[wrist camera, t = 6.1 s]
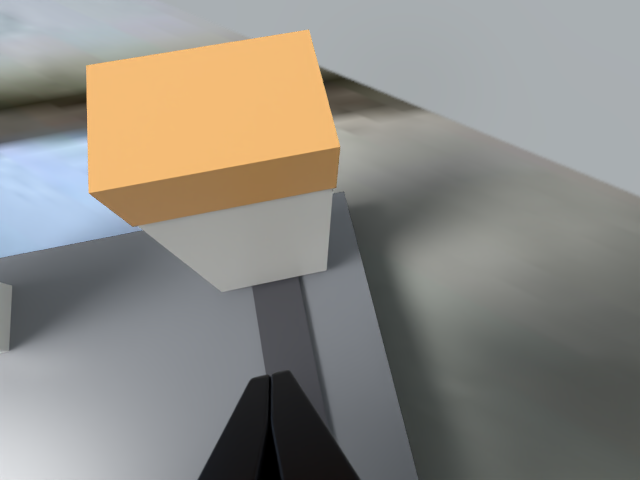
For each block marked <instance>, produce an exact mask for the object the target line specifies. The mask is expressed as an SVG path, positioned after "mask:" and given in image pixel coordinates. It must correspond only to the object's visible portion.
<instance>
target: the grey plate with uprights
mask: <svg viewBox="0 0 640 480" xmlns="http://www.w3.org/2000/svg"><path fill="white" fill-rule="evenodd" d="M284 370H290V371H291V372H292V374H293V375H294V377H295V378H296V380H297V381H298V383H299V385H300V386H301V388H302V389H303V391H304V392H305V394H306V395H307V397H308V398H309V400H310V402H311V403H312V405H313V406H314V408H315V409H316V411H317V412H318V414H319V415H320V417H321V419H322V420H323V422H324V423H325V425H326V426H327V428H328V429H329V431H330V433H331V434H332V436H333V437H334V439H335V440H336V442H337V443H338V445H339V446H340V448H341V450H342V451H343V453H344V454H345V456H346V457H347V459H348V460H349V462H350V463H351V465H352V467H353V468H354V470H355V471H356V473H357V474H358V476H359V477H360V479H361V480H419V479H418V475H417V472H416V468H415V464H414V460H413V456H412V452H411V448H410V445H409V441H408V437H407V433H406V429H405V425H404V421H403V418H402V414H401V410H400V406H399V402H398V398H397V394H396V391H395V387H394V383H393V379H392V375H391V371H390V367H389V364H388V360H387V356H386V352H385V348H384V344H383V340H382V337H381V333H380V329H379V325H378V321H377V317H376V313H375V310H374V306H373V302H372V298H371V294H370V290H369V286H368V283H367V279H366V275H365V271H364V267H363V263H362V259H361V256H360V252H359V248H358V244H357V240H356V236H355V232H354V229H353V225H352V221H351V217H350V213H349V209H348V205H347V202H346V198H345V194H344V192H339V193H334V194H333V196H332V208H331V220H330V233H329V245H328V257H327V270H326V271H321V272H316V273H311V274H306V275H302V276H297V277H292V278H287V279H282V280H278V281H273V282H268V283H263V284H258V285H254V286H249V287H244V288H239V289H234V290H229V291H225V292H221V291H220V290H218V289H217V288H216V287H215V286H213V285H212V284H211V283H209V282H208V281H207V280H206V279H204V278H203V277H202V276H201V275H199V274H198V273H197V272H196V271H194V270H193V269H192V268H190V267H189V266H188V265H187V264H185V263H184V262H183V261H182V260H180V259H179V258H178V257H176V256H175V255H174V254H173V253H171V252H170V251H169V250H168V249H166V248H165V247H164V246H163V245H161V244H160V243H159V242H157V241H156V240H155V239H154V238H152V237H151V236H150V235H149V234H147V233H146V232H145V231H137V232H132V233H127V234H122V235H117V236H111V237H106V238H101V239H96V240H91V241H86V242H80V243H75V244H70V245H65V246H60V247H55V248H49V249H44V250H39V251H34V252H29V253H23V254H18V255H13V256H8V257H3V258H0V480H198V478H199V476H200V474H201V472H202V470H203V468H204V466H205V464H206V462H207V460H208V459H209V457H210V455H211V453H212V451H213V449H214V447H215V445H216V443H217V441H218V439H219V438H220V436H221V434H222V432H223V430H224V428H225V426H226V424H227V422H228V420H229V418H230V417H231V415H232V413H233V411H234V409H235V407H236V405H237V403H238V401H239V399H240V398H241V396H242V394H243V392H244V390H245V388H246V386H247V384H248V382H249V381H250V379H251V378H253V377H258V376H262V375H267V374H268V375H270V376H271V375H272V374H273V373H275V372H280V371H284Z"/></svg>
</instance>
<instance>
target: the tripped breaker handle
mask: <svg viewBox="0 0 640 480" xmlns="http://www.w3.org/2000/svg"><path fill="white" fill-rule="evenodd" d="M86 75H87V129H88V184H89V194H90V195H92V196H93V197H94V198H96V199H97V200H98V201H100V202H101V203H102V204H104V205H105V206H106V207H107V208H109V209H110V210H111V211H113V212H114V213H115V214H117V215H118V216H119V217H121V218H122V219H123V220H125V221H126V222H127V223H128V224H130V225H131V226H132V227H134V226H138V227H140V228H141V229H142V230H143V231H145V232H146V233H147V234H149V235H150V236H151V237H152V238H154V239H155V240H156V241H157V242H159V243H160V244H161V245H163V246H164V247H165V248H166V249H168V250H169V251H170V252H171V253H173V254H174V255H175V256H176V257H178V258H179V259H180V260H182V261H183V262H184V263H185V264H187V265H188V266H189V267H190V268H192V269H193V270H194V271H196V272H197V273H198V274H199V275H201V276H202V277H203V278H204V279H206V280H207V281H208V282H209V283H211V284H212V285H213V286H215V287H216V288H217V289H218V290H220V291H221V292H225V291H229V290H234V289H239V288H244V287H249V286H254V285H258V284H263V283H268V282H273V281H278V280H282V279H287V278H292V277H297V276H302V275H306V274H311V273H316V272H321V271H326V270H327V257H328V245H329V233H330V220H331V208H332V196H333V188H336V185H337V174H338V164H339V154H340V144H339V140H338V137H337V133H336V129H335V125H334V122H333V118H332V114H331V110H330V107H329V103H328V99H327V95H326V92H325V88H324V84H323V80H322V77H321V73H320V69H319V65H318V62H317V58H316V54H315V51H314V47H313V43H312V39H311V36H310V32H309V30H304V31H298V32H291V33H285V34H279V35H273V36H266V37H260V38H254V39H248V40H242V41H235V42H229V43H223V44H217V45H210V46H204V47H198V48H192V49H186V50H179V51H173V52H167V53H161V54H154V55H148V56H142V57H136V58H130V59H123V60H117V61H111V62H105V63H98V64H92V65H86Z"/></svg>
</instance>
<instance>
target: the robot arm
mask: <svg viewBox="0 0 640 480" xmlns="http://www.w3.org/2000/svg"><path fill="white" fill-rule="evenodd" d="M198 480H361V479H360V477H359V476H358V474H357V473H356V471H355V470H354V468H353V467H352V465H351V463H350V462H349V460H348V459H347V457H346V456H345V454H344V453H343V451H342V450H341V448H340V446H339V445H338V443H337V442H336V440H335V439H334V437H333V436H332V434H331V433H330V431H329V429H328V428H327V426H326V425H325V423H324V422H323V420H322V419H321V417H320V415H319V414H318V412H317V411H316V409H315V408H314V406H313V405H312V403H311V402H310V400H309V398H308V397H307V395H306V394H305V392H304V391H303V389H302V388H301V386H300V385H299V383H298V381H297V380H296V378H295V377H294V375H293V374H292V372H291V371H290V370H284V371H280V372H275V373H273V374H272V375H271V376H270V375H268V374H267V375H262V376H258V377H253V378H251V379H250V381H249V382H248V384H247V386H246V388H245V390H244V392H243V394H242V396H241V398H240V399H239V401H238V403H237V405H236V407H235V409H234V411H233V413H232V415H231V417H230V418H229V420H228V422H227V424H226V426H225V428H224V430H223V432H222V434H221V436H220V438H219V439H218V441H217V443H216V445H215V447H214V449H213V451H212V453H211V455H210V457H209V459H208V460H207V462H206V464H205V466H204V468H203V470H202V472H201V474H200V476H199V478H198Z"/></svg>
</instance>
